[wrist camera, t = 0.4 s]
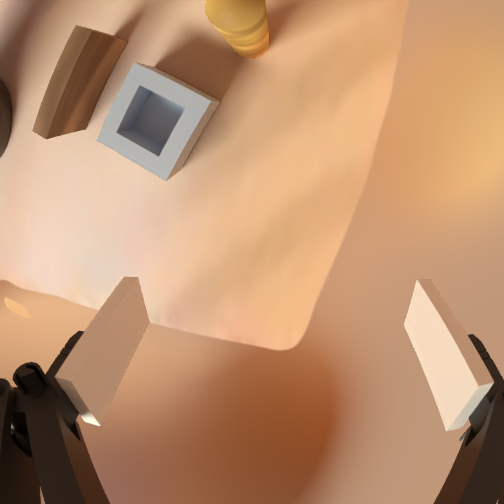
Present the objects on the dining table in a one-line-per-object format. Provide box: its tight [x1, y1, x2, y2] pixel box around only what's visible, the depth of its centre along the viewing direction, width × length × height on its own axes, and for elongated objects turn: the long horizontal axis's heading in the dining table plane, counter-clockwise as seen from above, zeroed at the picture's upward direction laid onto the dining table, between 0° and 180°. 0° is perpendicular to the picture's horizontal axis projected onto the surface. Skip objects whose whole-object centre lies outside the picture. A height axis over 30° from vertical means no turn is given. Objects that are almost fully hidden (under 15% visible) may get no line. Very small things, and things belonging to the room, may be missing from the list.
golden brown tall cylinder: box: [205, 0, 270, 58], centre depth 21 cm, size 4×4×13 cm
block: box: [97, 62, 220, 181], centre depth 29 cm, size 9×9×5 cm
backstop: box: [33, 25, 128, 139], centre depth 26 cm, size 2×12×8 cm, turn 148°
